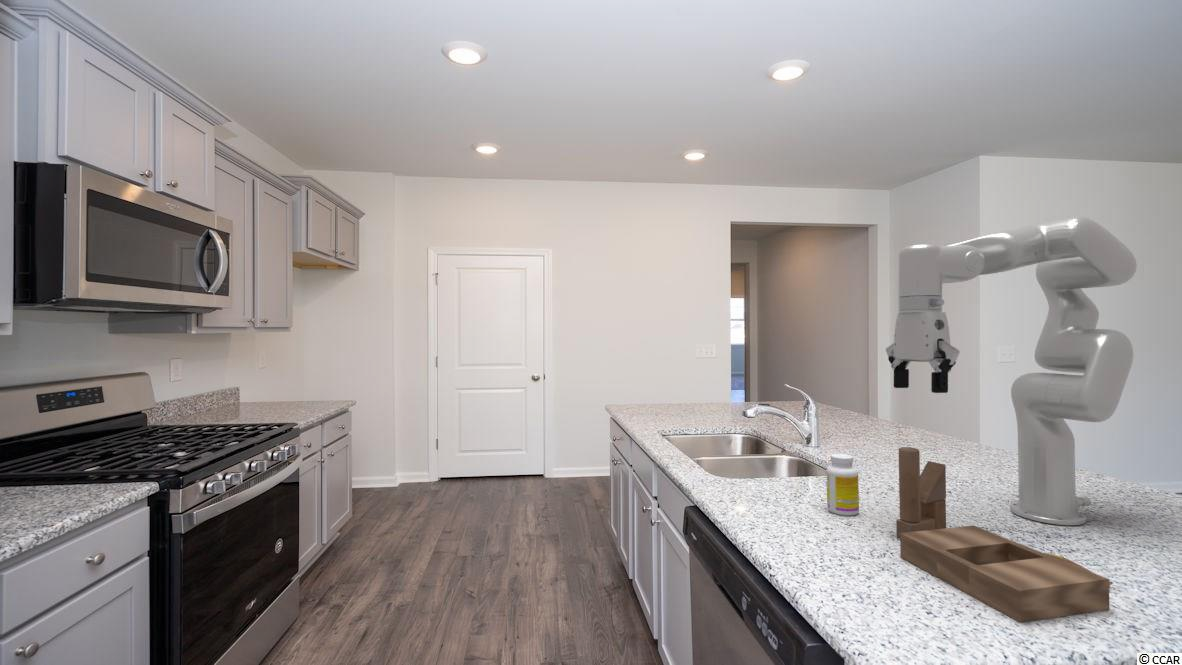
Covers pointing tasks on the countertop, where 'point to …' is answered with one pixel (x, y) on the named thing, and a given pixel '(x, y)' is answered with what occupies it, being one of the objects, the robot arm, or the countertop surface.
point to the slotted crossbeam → (1006, 573)
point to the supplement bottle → (842, 486)
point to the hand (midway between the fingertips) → (919, 390)
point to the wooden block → (920, 493)
